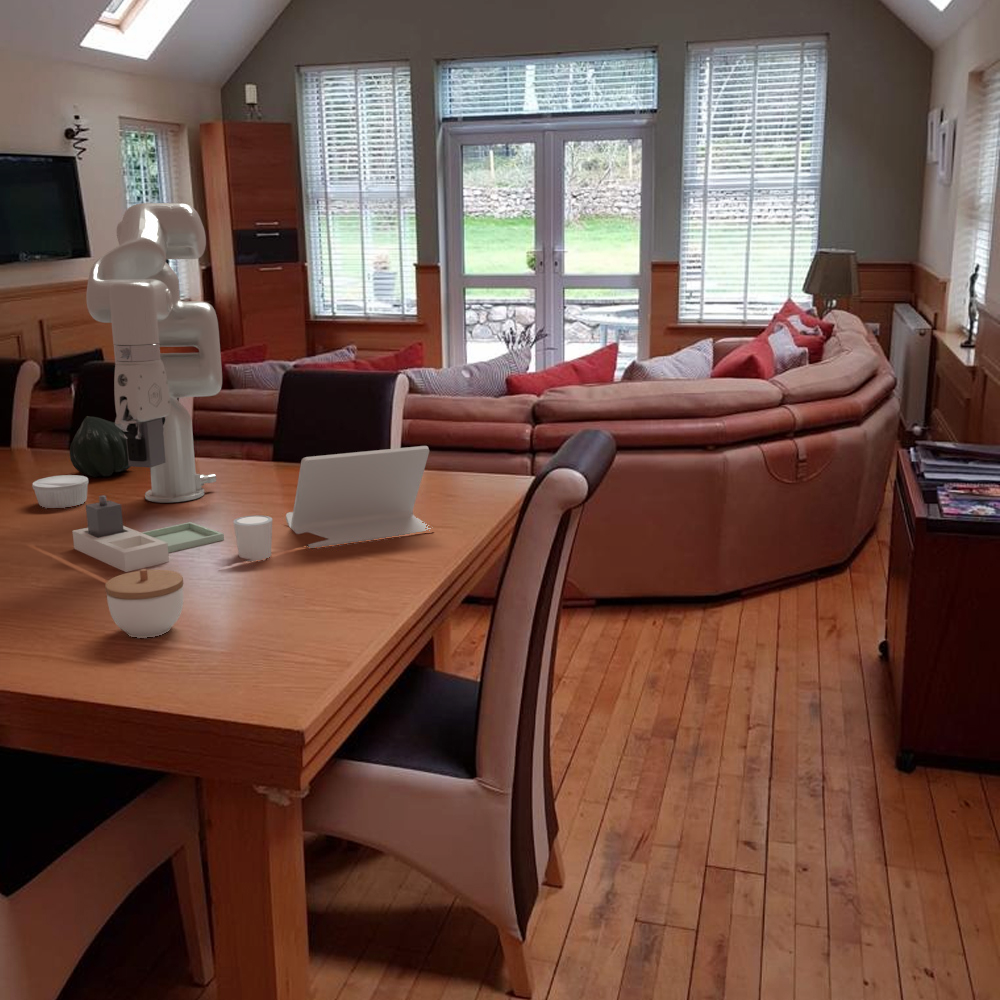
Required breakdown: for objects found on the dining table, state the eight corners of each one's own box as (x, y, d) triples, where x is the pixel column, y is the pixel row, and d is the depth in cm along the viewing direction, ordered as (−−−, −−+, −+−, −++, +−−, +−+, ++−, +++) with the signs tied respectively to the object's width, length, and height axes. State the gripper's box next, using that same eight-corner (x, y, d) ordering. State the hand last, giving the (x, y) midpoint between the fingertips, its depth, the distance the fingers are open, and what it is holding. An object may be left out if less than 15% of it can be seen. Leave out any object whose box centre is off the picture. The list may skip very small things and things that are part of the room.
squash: (154, 450, 255) (122, 402, 257) (103, 464, 243) (69, 413, 245) (130, 483, 263) (99, 435, 265) (79, 497, 251) (47, 448, 253)
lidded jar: (121, 619, 157) (115, 559, 155) (193, 616, 158) (189, 557, 156) (100, 646, 147) (94, 582, 145) (178, 643, 148) (173, 580, 146)
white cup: (281, 553, 190) (279, 516, 188) (261, 564, 183) (259, 526, 182) (249, 550, 192) (246, 513, 190) (227, 560, 186) (225, 522, 184)
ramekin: (37, 513, 219) (34, 488, 218) (32, 501, 228) (30, 478, 227) (93, 506, 224) (91, 482, 223) (87, 495, 234) (84, 472, 232)
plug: (165, 462, 187) (161, 409, 184) (150, 467, 182) (146, 413, 180) (143, 461, 188) (139, 408, 186) (128, 466, 184) (123, 412, 181)
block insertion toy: (116, 542, 197) (110, 488, 194) (169, 564, 183) (164, 506, 181) (74, 551, 191) (68, 495, 189) (126, 575, 178) (120, 515, 175)
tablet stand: (436, 533, 203) (434, 447, 199) (310, 550, 192) (305, 460, 188) (402, 512, 219) (400, 432, 214) (285, 527, 208) (280, 443, 204)
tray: (191, 530, 205) (190, 522, 204) (224, 542, 196) (223, 533, 196) (133, 543, 196) (132, 534, 196) (165, 556, 188) (164, 547, 188)
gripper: (126, 359, 172) (136, 468, 176) (183, 350, 187) (191, 450, 192) (87, 358, 174) (98, 466, 178) (147, 349, 190) (156, 448, 194)
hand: (146, 456), depth 185 cm, fingers closed on plug, 4 cm apart
